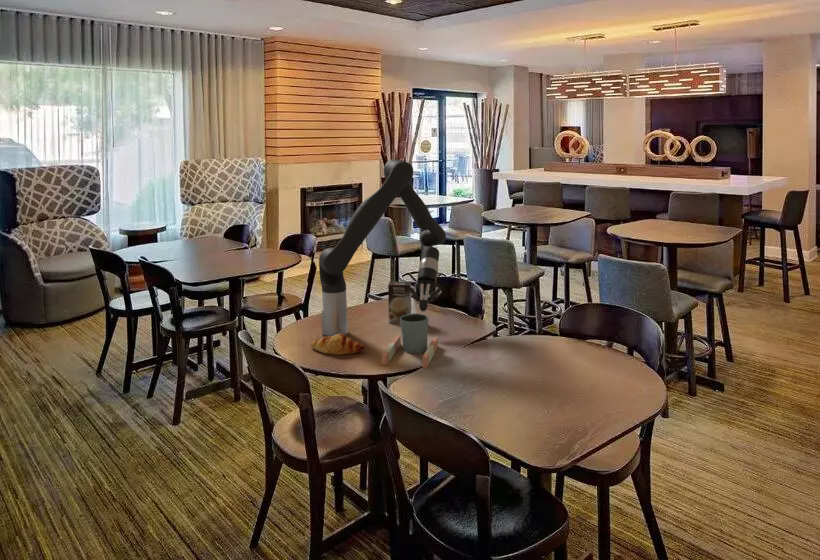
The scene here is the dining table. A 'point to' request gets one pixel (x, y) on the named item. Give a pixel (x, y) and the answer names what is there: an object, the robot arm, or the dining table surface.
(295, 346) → the dining table surface
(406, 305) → the coffee box
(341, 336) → the croissant
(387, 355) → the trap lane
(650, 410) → the dining table surface
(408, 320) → the grey green cup
